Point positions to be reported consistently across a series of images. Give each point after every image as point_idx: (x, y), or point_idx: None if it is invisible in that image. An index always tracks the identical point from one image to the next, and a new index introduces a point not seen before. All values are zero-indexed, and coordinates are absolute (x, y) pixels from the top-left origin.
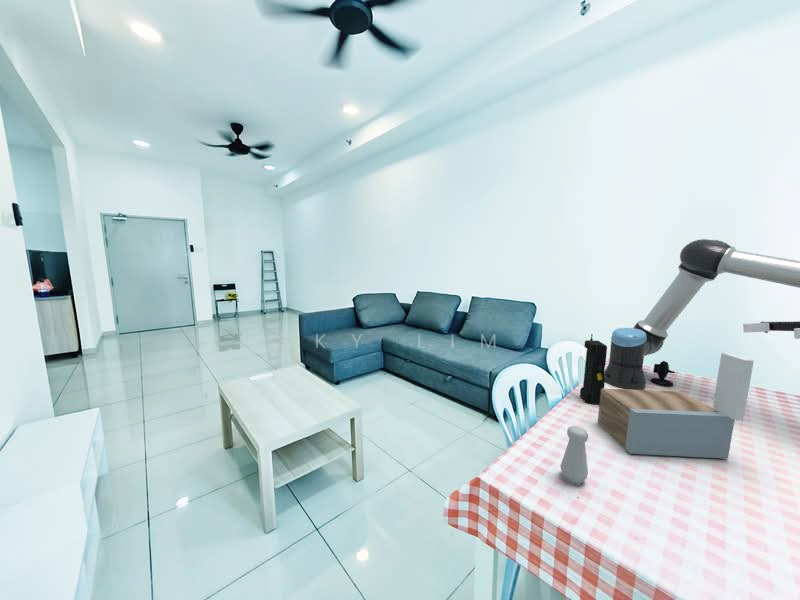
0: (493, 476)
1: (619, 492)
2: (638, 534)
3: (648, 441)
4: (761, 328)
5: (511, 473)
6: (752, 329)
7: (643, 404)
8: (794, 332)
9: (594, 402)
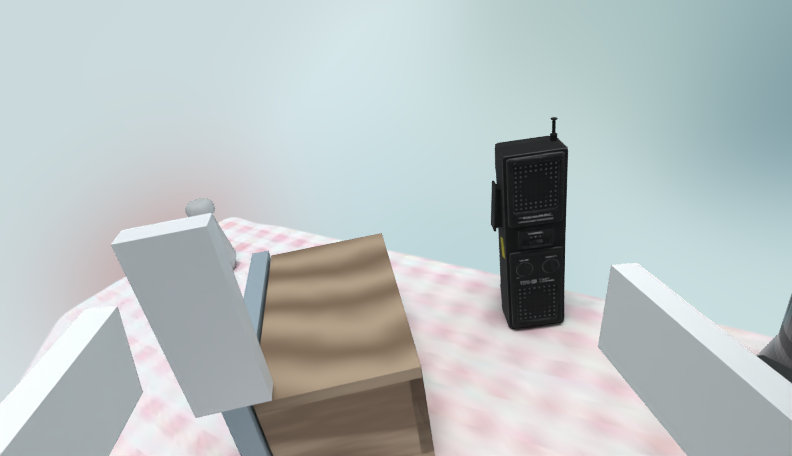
0: (233, 221)
1: None
2: (125, 305)
3: None
4: (712, 434)
5: (237, 230)
6: (640, 363)
7: (301, 274)
8: (123, 341)
9: (503, 310)
